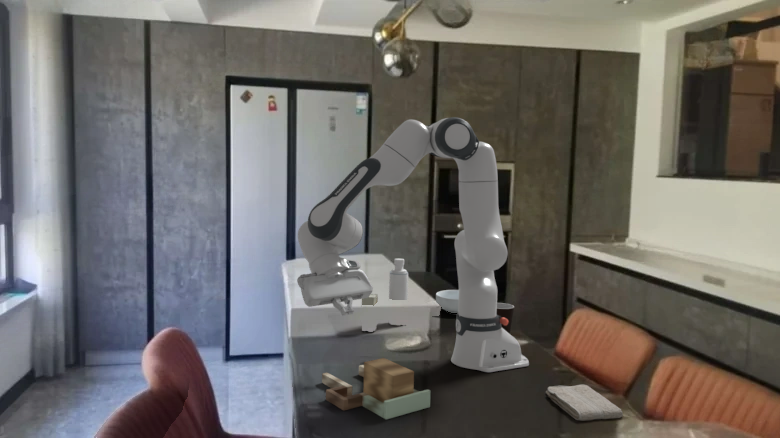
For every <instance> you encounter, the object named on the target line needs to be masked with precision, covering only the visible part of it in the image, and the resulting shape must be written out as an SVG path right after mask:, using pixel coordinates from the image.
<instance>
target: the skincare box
mask: <svg viewBox="0 0 780 438" xmlns="http://www.w3.org/2000/svg"><path fill="white" fill-rule="evenodd" d="M378 297H379V296H378V293H371V294H370V296H369V297H368V298H364V299H361V306H362V305H373V306H374V305H375V304H376V303H377V302H378V299H379V298H378Z"/></svg>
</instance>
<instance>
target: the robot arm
mask: <svg viewBox="0 0 780 438" xmlns="http://www.w3.org/2000/svg"><path fill="white" fill-rule="evenodd" d="M428 154H429V155H432V156H434V157H437V158H442V159H453V160H454V161H455V163H456V165H457V169H458V203H459V204H458V205H459V206H458V207H459V209H458V210H459V213H460V215H461V219H462V227H463V229H462V230H460V231H459V232H458V233H457V235H455V236H456V237H455V239H454V250H455V258H456V259H455V261H456V262H455V263H456V271H457V281H458V282H457V283H458V290H459V303H458V313H457V314H456V320H455V331H456V332H455V333H456V338H455V342H454V343H455V344H454V347H453V352H452V355H451V358H450V361H451V363H452V364H454V365H456V366H457V367H460V368H463V369H464V368H465V369H470V370H477V371H481V372H484V373H493V372H498V371H499V372H500V371H505V370H506V371H507V370H513V369H517V368H525V367H529V365H530V362H529V359H528V358H527V357H526V356H525V355H523V354H522V349H521V345H520V343H519V341H518V340H517V339H516V338H515V336H513V335H511V333H510V334H509V333H508V332H507V331H506V330H504V329H503V328H502V326H501V324H503V325H508V322H509V320H508V319H506V318H504V317H500V316H498V315H497V303H498V286H497V282H496V279H495V271H496V270H499V269H500V268H501V267H503V266H504V265H505V263H506V262H507V258H508V254H509V253H508V247H507V245H506V242H505V238H504V231H503V226H502V220H501V216H500V209H499V207H500V206H499V180H498V167H497V166H498V165H497V159H496V154H495V149H494V148H493V147H492V145H490V144H489V143H487V142H484V141H480V140H479V139H478V136H477V135H476V134H475V132H474V130H473V128H472V126H471V125H470V123H469V122H468V121H466V120H465V119H463V118H460V117H458V116H457V117H456V116H454V117H452V116H451V117H446V118H442V119H439V120H438V121H436V122H433V123H431V124H428V125H425V124H424V123H422V122H421V121H419V120H418V119H407V120H405V121H403V122H402V123H401V124H399V126H397V128H396V129H395V130H393V132H392V133H391V134H390V135H389V136H388V137H387V139H386V140H385V141H384V143H383V144H382V145H381V146H380V147H379V149H377V150H376V152H374V154H372V155H371V156H370V157H369V158H366V159H364V160H362V161H361V162H359V163H358V165H356V166H355V168H353V170H351V172H349V174H347V176H346V177H345V178H344V179H343V180H342V181H341V182H340V183H339V184H337V186H336V187H335V188H334V190H333V191H332V192H331V193H329V194H328V195H327V196H326V197H325V198H323V199H322V200H321V201H319V202H318V203H317V204H315V205H314V206H313V208H311V210H310V212H309V214H308V217H307V220H306V221H305V222H303V223H302V224H301V225H300V226H299V228H298V231H297V239H298V243H299V247H300V250H301V252H302V254H303V257H304V258H305V259H306V261H307V263H308V267H309V271H310V272H311V273H307V274H306V273H304V274H301V275H299V276H298V277H297V279H296V280H297V281H296V282H297V284H298V287H299V288H300V291H301V292H300V293H301V295H302V299H303V302H304V304H305V305H306V306H307V307H309V308H310V307H311V308H312V307H316V306H323V305H330V304H332V305H333V307H334V308H335V309H337V310H338V311H339V312H340V314H341V316H342V317H343V316H349V315H353V314H354V312H355V311H354V307H353V302H354V301H357V300H362V299H364V298H368V297H369V296H370V294H373V291H374V287H373V285H372V282H371V280H370V278H369V277H368V275H367V274H366V272H365V271H364V270H362V269H361V263H360V262H359V261H357V260H352V259H347V258H344V257H341V256H340V255H342V254H344V253H347V252H348V251H350V250H352V249H354V248H355V247H357V246H358V245H359V243H360V242H361V240H362V238H363V235H364V229H363V224H362V223H361V222H360V220H358V219H357V218H355V217H354V216H353V215H351V214H349V213H347V211H348V209H349V208H350V207H351V206H353V204H354V203H355V202H356V201H357V200H358V199H359V197H361V195H362V194H363V193H364V192H365V191H366V190H368V189H369V188H372V187H374V186H386V187H387V186H388V187H393V186H398V185H400V184H402V183H403V182H404V181H405V180H406V179H407V178H409V176H410V175H411V174H412V172H413V171H414V170H415V169H416V167H417V166H418V164H419V162H421V160H422V159H423V158H424V157H425V156H427V155H428ZM342 302H343V303H344V304H345V305H346V306H345V305H343V304H342Z"/></svg>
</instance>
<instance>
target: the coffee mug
mask: <svg viewBox="0 0 780 438" xmlns="http://www.w3.org/2000/svg"><path fill="white" fill-rule="evenodd" d="M514 310H515V306H514V305H513V304H510V303H503V302H497V315H498V316H500V317H504V318H506V319H508V320H509V322H508V325H503V324H501V326H502V328H503V329H504V330H506V331H507V332H508V333H509V334H510V335H511V329H512V323H513V317H514V312H515V311H514Z"/></svg>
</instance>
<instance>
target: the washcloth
mask: <svg viewBox="0 0 780 438" xmlns="http://www.w3.org/2000/svg"><path fill="white" fill-rule="evenodd" d="M545 394H546V395H547V397H548V398H550V400H551V401H552V402H553V403H554V404H556V405H557V406H559V408H561V409H562V410H563V411H564V412H566V413H567V414H568V415H569V416H571V417H572V418H573V419H575V420H576V421H582V422H585V421H593V420H601V419H602V420H608V419H609V420H611V419H620V418H622V417H624V414H623V411H622V408H620V407H618V406H617V405H616V404H614V403H613V402H611V401H610V400H609V399H608V398H606V397H605V396H604V395H602V394H600V393H599V392H598V391H596V390H594V389H593V388H591V386H589V385H587V384H577V385H572V386H569V385H554V386H548V387H547V390H546V391H545Z"/></svg>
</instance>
